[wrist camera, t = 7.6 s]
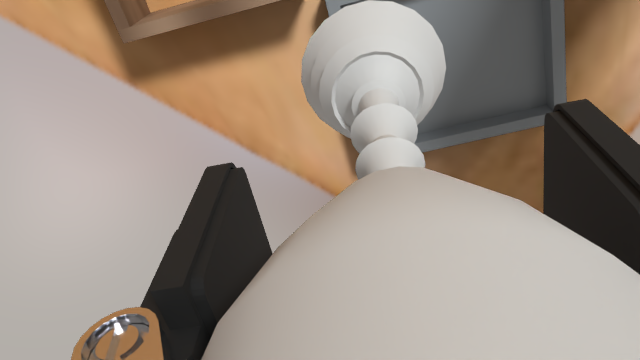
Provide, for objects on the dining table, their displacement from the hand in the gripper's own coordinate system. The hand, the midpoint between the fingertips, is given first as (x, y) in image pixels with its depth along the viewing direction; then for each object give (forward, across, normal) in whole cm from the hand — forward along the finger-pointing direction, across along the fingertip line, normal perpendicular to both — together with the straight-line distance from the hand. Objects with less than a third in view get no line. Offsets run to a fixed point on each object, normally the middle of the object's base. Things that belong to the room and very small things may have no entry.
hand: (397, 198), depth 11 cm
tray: (+25, -5, +5) cm, 26 cm away
